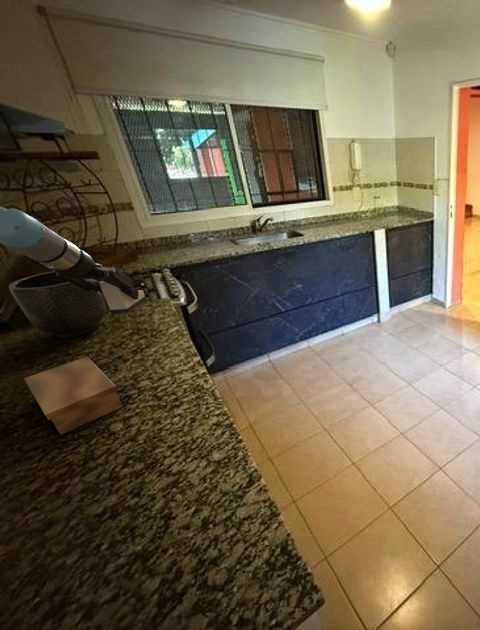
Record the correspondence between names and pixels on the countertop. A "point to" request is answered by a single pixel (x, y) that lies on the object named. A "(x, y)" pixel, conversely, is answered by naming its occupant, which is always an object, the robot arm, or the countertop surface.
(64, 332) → the planter
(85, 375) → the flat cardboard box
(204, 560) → the countertop surface
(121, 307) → the black-striped white block
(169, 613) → the countertop surface
